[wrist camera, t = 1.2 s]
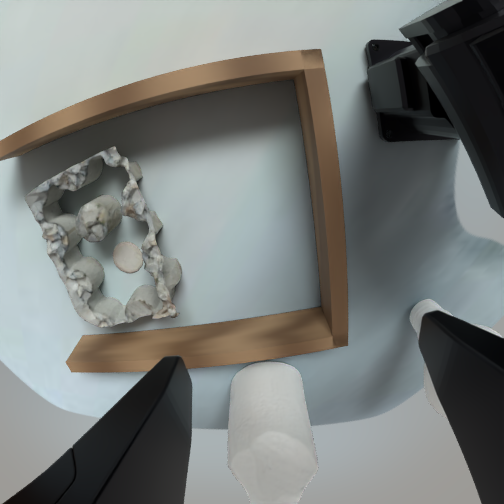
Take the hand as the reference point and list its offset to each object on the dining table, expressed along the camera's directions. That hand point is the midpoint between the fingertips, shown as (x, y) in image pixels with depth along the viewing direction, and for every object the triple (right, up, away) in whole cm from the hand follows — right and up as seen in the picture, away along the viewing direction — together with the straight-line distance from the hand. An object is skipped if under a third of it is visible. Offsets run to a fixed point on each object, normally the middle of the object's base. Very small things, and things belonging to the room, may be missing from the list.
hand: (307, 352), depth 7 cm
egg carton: (-10, +4, +13) cm, 17 cm away
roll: (0, -9, +18) cm, 20 cm away
